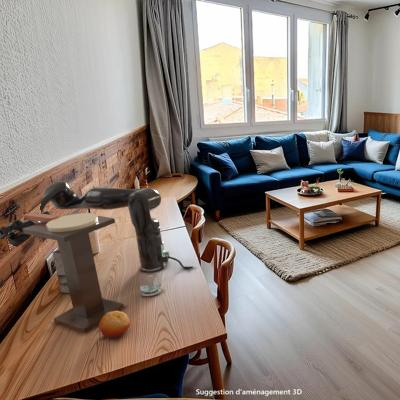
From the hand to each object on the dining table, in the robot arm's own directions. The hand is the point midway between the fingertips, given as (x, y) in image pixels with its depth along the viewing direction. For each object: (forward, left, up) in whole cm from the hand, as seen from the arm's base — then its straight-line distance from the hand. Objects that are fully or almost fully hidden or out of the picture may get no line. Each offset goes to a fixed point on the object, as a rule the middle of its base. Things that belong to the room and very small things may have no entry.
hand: (34, 217), depth 110 cm
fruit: (-25, +22, -32) cm, 46 cm away
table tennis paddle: (-10, +8, 0) cm, 13 cm away
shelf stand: (-13, +9, -32) cm, 35 cm away
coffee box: (-3, -11, -32) cm, 34 cm away
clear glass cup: (-31, 0, -32) cm, 45 cm away
